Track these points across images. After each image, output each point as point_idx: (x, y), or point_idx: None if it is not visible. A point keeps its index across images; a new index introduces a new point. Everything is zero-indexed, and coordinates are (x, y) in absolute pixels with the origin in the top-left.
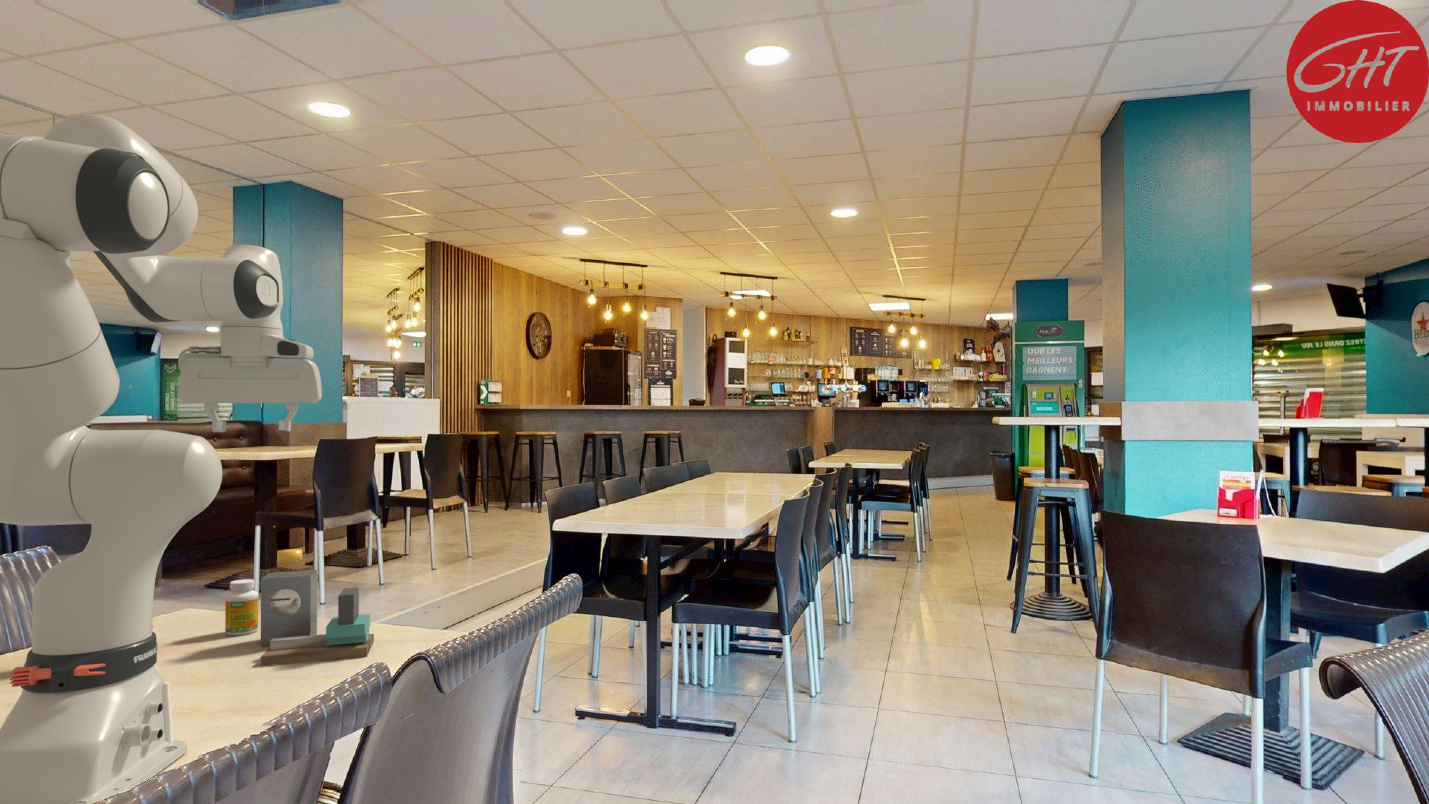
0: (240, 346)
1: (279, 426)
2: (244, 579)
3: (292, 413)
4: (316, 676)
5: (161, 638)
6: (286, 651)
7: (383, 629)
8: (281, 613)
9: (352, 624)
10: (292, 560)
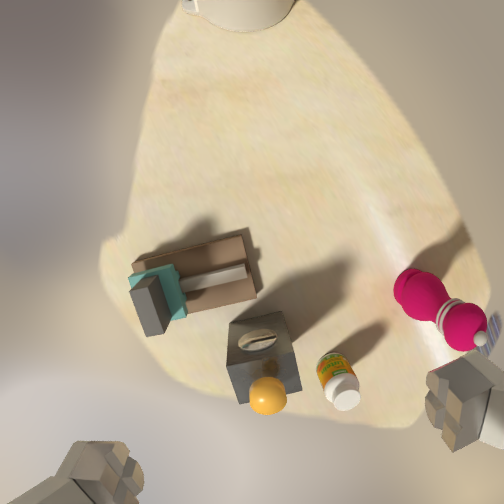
0: None
1: (105, 453)
2: (349, 409)
3: (18, 498)
4: (157, 191)
5: (403, 343)
6: (220, 255)
7: (168, 366)
8: (261, 331)
9: (141, 276)
10: (256, 382)
